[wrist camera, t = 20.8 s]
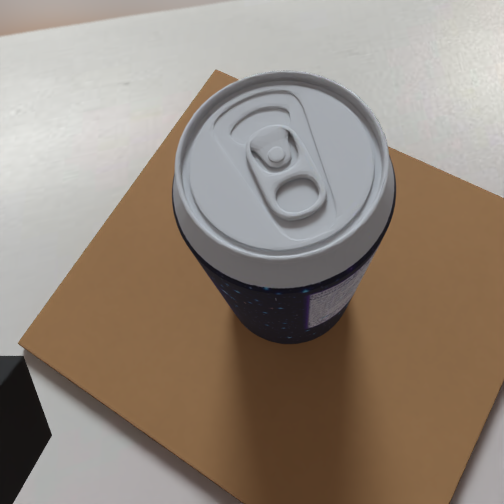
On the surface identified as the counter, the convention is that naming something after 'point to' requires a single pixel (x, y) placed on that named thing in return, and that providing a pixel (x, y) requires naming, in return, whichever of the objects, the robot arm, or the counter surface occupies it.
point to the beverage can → (284, 199)
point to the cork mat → (295, 348)
